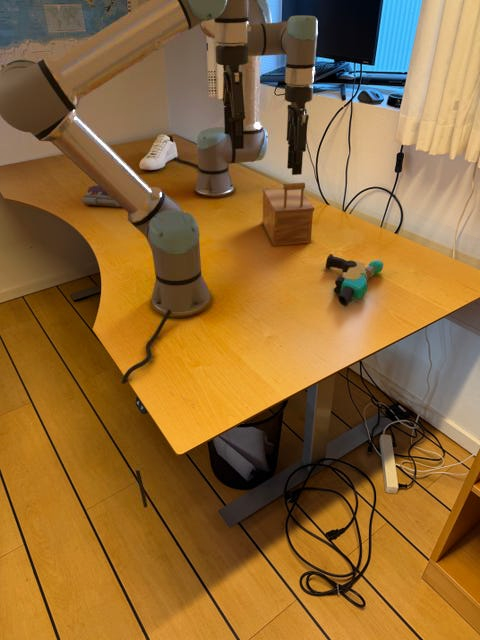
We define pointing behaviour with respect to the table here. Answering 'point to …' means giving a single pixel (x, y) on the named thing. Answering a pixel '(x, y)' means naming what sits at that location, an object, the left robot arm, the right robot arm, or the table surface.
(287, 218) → the chest
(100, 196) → the toy gun
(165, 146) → the sneaker
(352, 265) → the toy gun
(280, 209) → the lid
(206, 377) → the table surface
